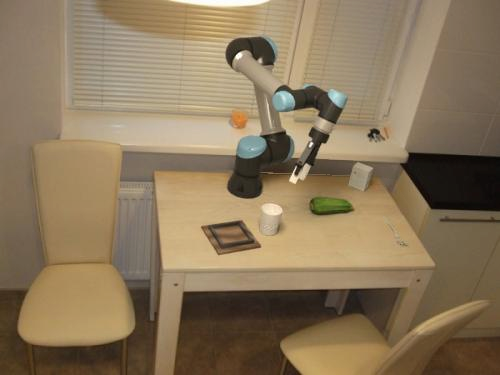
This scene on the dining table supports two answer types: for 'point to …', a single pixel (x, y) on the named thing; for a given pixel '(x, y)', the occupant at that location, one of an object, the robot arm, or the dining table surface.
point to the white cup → (270, 219)
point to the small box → (360, 176)
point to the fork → (394, 231)
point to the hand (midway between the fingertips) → (296, 180)
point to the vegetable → (329, 205)
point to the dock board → (230, 237)
